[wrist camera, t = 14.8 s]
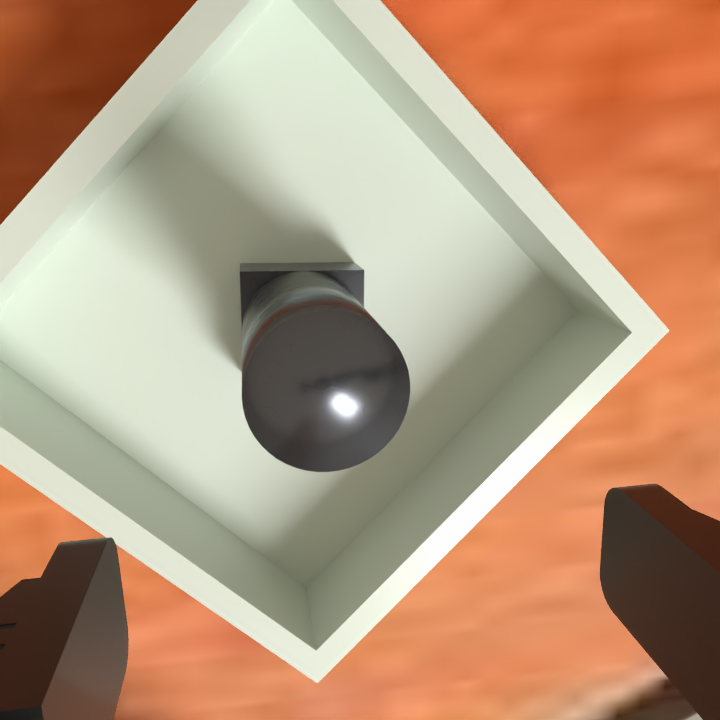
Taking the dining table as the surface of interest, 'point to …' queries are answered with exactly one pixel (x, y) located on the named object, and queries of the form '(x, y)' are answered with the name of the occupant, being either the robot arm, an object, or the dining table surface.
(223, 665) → the dining table surface
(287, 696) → the dining table surface
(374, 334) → the dark grey stamp
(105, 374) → the sage bin
